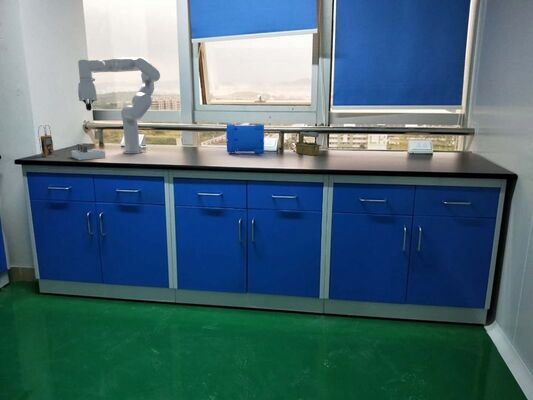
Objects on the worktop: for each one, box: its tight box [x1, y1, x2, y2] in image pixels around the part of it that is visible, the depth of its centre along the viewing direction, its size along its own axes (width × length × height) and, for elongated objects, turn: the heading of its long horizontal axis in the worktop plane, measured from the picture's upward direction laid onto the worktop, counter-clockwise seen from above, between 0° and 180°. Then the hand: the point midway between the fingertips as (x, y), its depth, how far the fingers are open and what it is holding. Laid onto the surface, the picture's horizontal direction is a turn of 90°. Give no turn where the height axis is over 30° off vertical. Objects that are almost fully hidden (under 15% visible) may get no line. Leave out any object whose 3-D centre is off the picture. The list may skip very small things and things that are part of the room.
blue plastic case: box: [225, 123, 265, 155], centre depth 305 cm, size 25×22×19 cm
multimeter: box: [38, 125, 59, 159], centre depth 285 cm, size 15×10×20 cm
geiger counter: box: [291, 131, 322, 156], centre depth 304 cm, size 9×26×15 cm, turn 37°
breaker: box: [82, 145, 88, 152], centre depth 275 cm, size 2×2×4 cm
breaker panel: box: [71, 148, 106, 161], centre depth 283 cm, size 16×16×4 cm
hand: (89, 110), depth 282 cm, fingers closed
